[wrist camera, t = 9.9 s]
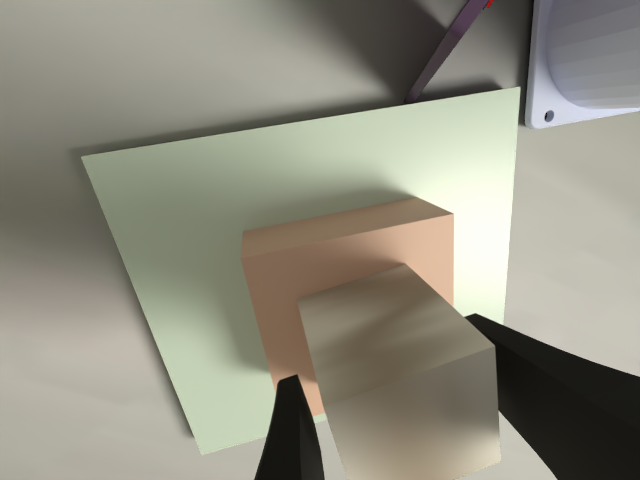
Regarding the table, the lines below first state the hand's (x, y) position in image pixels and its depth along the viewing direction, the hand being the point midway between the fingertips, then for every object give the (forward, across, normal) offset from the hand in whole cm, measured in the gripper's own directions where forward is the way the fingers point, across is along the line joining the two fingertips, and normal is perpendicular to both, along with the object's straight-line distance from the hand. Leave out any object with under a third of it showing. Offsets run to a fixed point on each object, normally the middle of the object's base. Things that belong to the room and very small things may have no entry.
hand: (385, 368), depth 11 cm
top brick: (+2, 0, 0) cm, 2 cm away
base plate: (+6, 0, 0) cm, 6 cm away
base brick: (+5, 0, 0) cm, 5 cm away
